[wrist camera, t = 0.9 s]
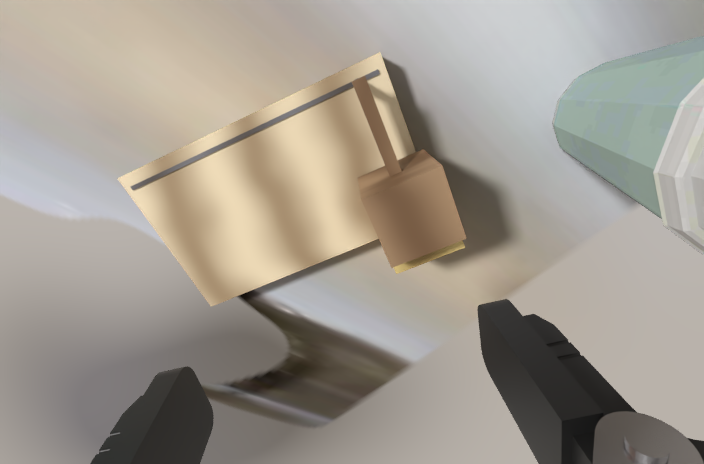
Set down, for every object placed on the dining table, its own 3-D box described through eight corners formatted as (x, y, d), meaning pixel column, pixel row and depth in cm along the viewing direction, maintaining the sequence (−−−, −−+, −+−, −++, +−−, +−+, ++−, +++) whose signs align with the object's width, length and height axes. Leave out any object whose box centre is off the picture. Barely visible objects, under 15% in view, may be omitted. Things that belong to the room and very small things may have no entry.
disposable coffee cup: (656, 166, 28) (962, 252, 14) (519, 197, 29) (686, 308, 15) (674, 14, 24) (1135, -73, 10) (513, 54, 24) (738, 26, 11)
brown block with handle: (389, 62, 24) (406, 57, 18) (444, 220, 29) (473, 259, 22) (322, 94, 24) (316, 99, 18) (387, 243, 29) (400, 287, 23)
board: (377, 53, 24) (380, 52, 22) (432, 205, 29) (438, 215, 27) (132, 171, 27) (116, 178, 25) (218, 293, 31) (210, 307, 29)
